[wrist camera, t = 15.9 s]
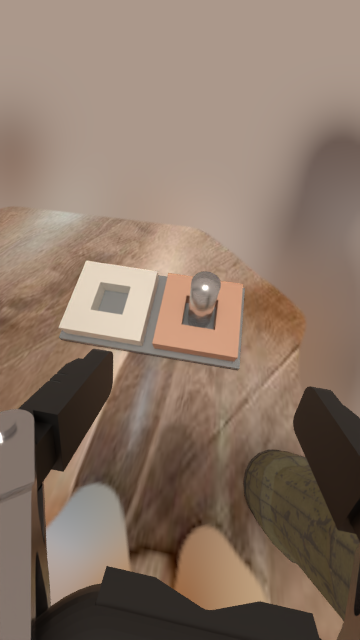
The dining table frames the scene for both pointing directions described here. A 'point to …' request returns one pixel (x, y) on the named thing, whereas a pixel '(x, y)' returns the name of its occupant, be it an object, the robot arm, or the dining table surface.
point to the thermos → (301, 522)
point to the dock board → (152, 315)
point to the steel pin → (203, 298)
